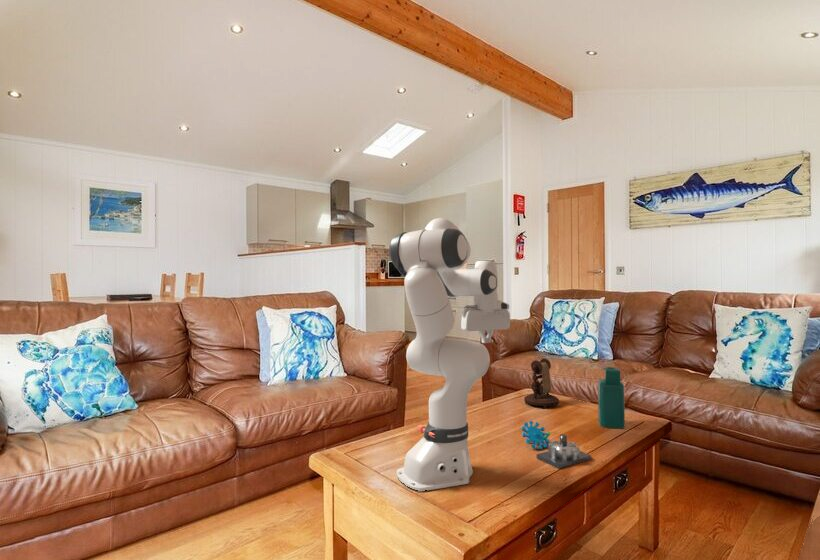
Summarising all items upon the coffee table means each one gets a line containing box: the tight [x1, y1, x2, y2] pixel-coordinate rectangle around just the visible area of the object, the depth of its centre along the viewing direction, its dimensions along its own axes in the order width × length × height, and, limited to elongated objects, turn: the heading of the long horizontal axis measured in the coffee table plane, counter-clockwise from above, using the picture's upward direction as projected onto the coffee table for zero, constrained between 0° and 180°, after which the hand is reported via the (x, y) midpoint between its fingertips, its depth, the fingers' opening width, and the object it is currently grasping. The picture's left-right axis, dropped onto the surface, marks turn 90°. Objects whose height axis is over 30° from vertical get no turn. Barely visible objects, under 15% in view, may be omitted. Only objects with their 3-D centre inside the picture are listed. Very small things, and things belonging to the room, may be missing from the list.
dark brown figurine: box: [523, 358, 560, 410], centre depth 196 cm, size 15×15×20 cm
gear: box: [520, 420, 552, 451], centre depth 150 cm, size 11×6×10 cm
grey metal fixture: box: [536, 434, 592, 470], centre depth 138 cm, size 14×9×7 cm, turn 118°
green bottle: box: [597, 366, 626, 429], centre depth 167 cm, size 10×8×22 cm
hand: (486, 342), depth 162 cm, fingers closed
